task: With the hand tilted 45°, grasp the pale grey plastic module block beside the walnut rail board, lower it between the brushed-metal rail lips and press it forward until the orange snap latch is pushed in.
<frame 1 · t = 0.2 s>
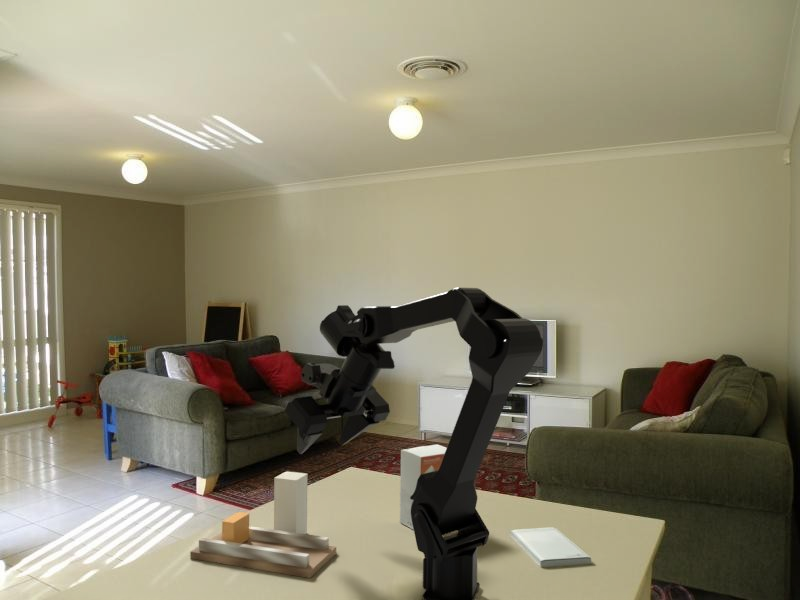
hand: (320, 447, 106), 14 cm above the table, tool tilted 35°, fingers open, 9 cm apart
hard drive: (548, 553, 100), on the table
snap latch: (235, 530, 98), point 3 cm above the table, slide at 0.0 cm
small box: (428, 525, 110), on the table
module: (290, 535, 104), on the table
rail board: (264, 555, 96), on the table
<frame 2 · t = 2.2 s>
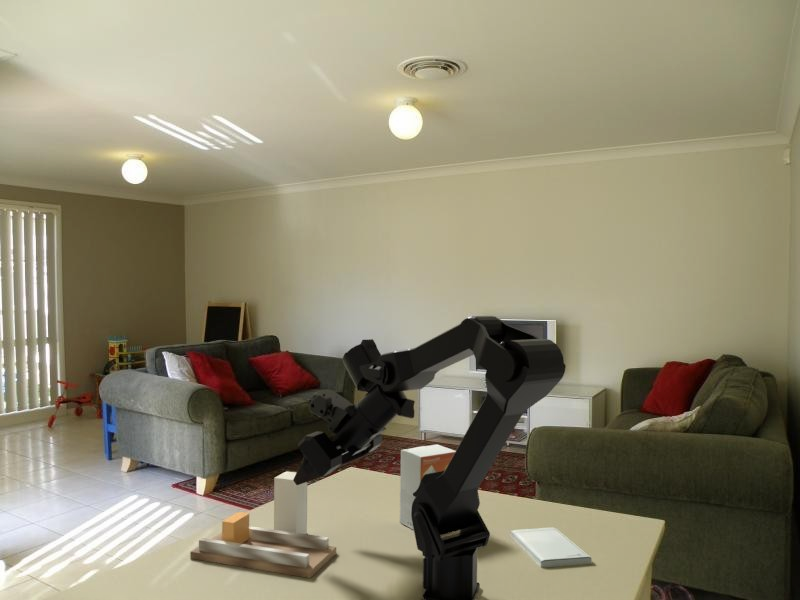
hand: (310, 474, 103), 11 cm above the table, tool tilted 45°, fingers open, 9 cm apart
nothing on the table moved.
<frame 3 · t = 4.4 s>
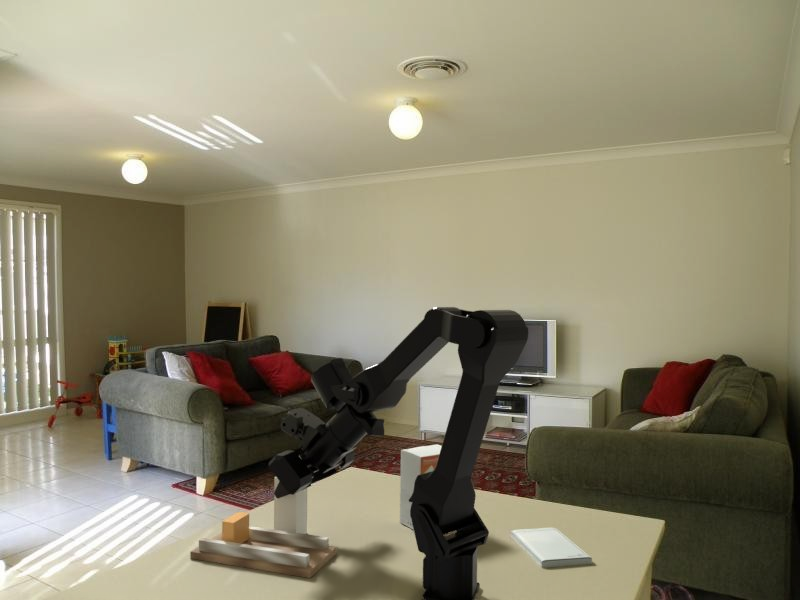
hand: (283, 492, 105), 7 cm above the table, tool tilted 45°, fingers closed on module, 4 cm apart
module: (290, 535, 104), on the table, touching gripper
everything else where it was.
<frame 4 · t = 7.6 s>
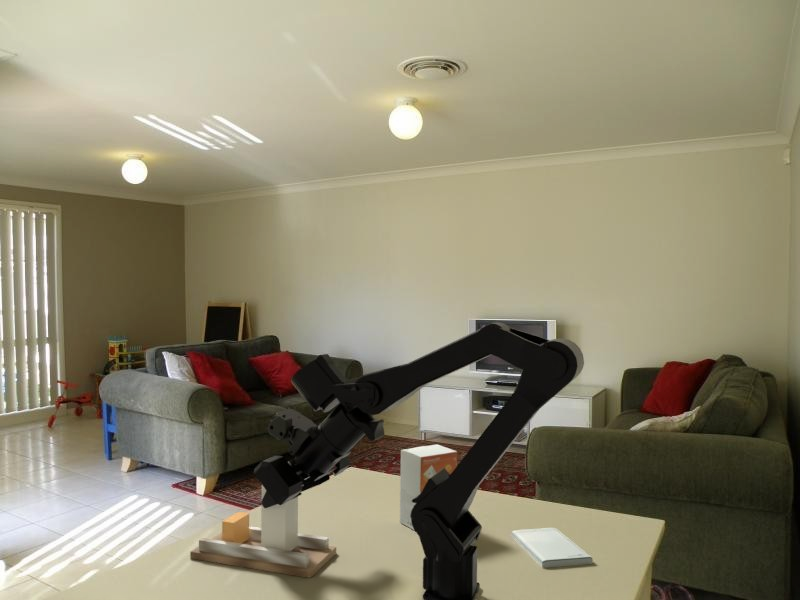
hand: (272, 500, 96), 9 cm above the table, tool tilted 45°, fingers closed on module, 4 cm apart
module: (279, 548, 95), point 1 cm above the table, touching gripper
everything else where it was.
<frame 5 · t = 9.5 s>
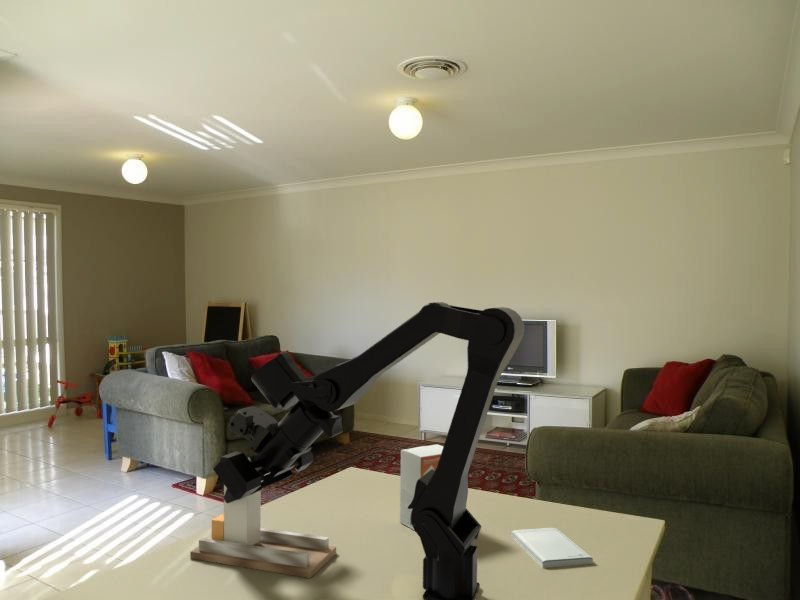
hand: (235, 496, 98), 8 cm above the table, tool tilted 45°, fingers closed on module, 4 cm apart
snap latch: (225, 528, 98), point 3 cm above the table, slide at 1.9 cm
module: (242, 543, 97), point 1 cm above the table, touching gripper
everything else where it was.
when the fingers open (8 cm above the table, at t = 10.7 s): module stays where it is, resting on rail board.
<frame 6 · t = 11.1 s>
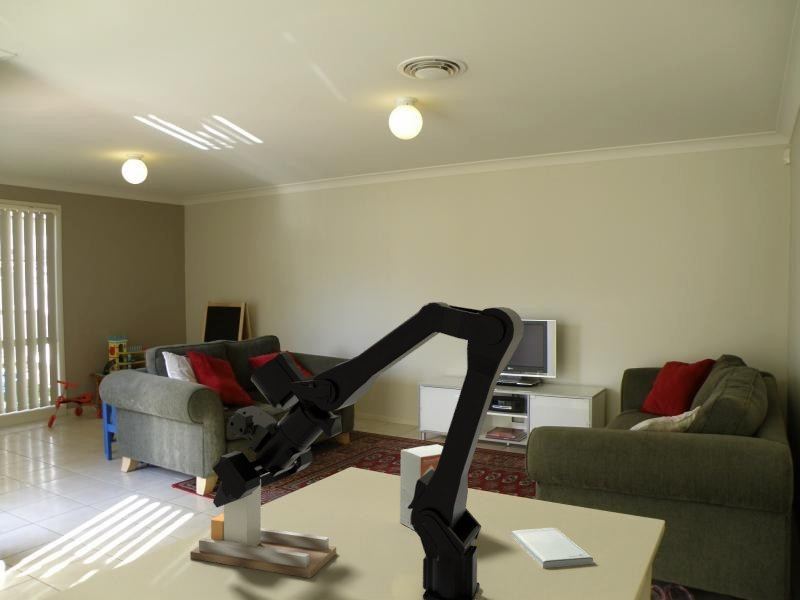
hand: (234, 495, 98), 9 cm above the table, tool tilted 45°, fingers open, 9 cm apart
module: (242, 545, 97), point 1 cm above the table, touching rail board
everything else where it was.
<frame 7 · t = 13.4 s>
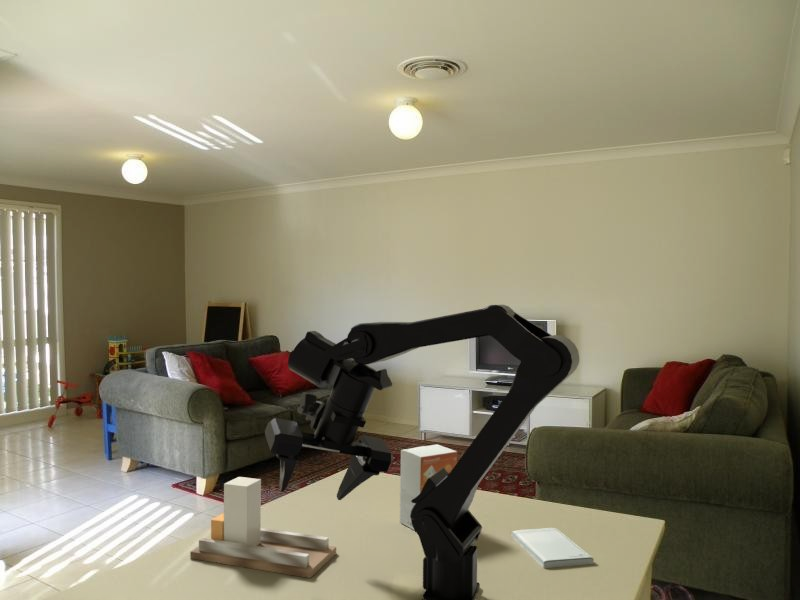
hand: (310, 494, 94), 10 cm above the table, tool tilted 25°, fingers open, 9 cm apart
nothing on the table moved.
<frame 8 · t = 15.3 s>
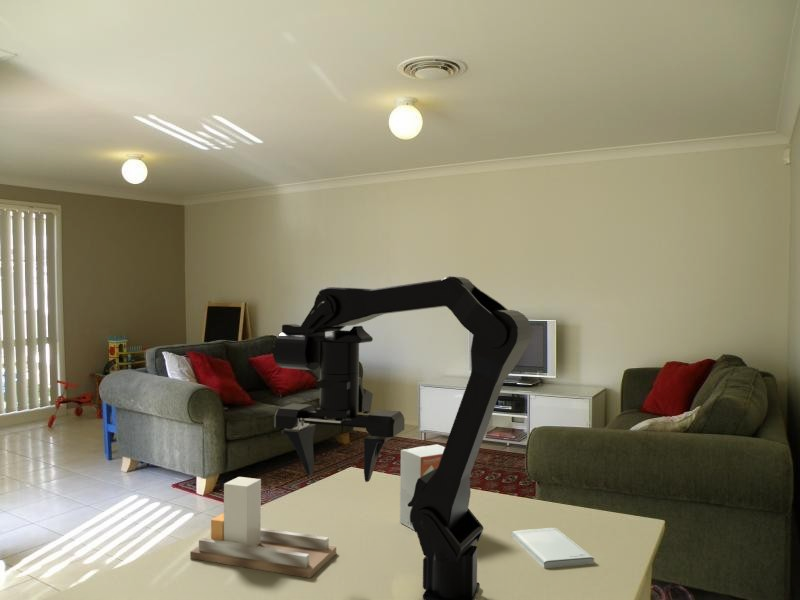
hand: (338, 477, 93), 13 cm above the table, tool pointing down, fingers open, 9 cm apart
nothing on the table moved.
at the end: snap latch slide at 2.0 cm; module 0.2 cm from the target spot on the rail board, point 1.0 cm above the rail board's base; module tilted 0° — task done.
